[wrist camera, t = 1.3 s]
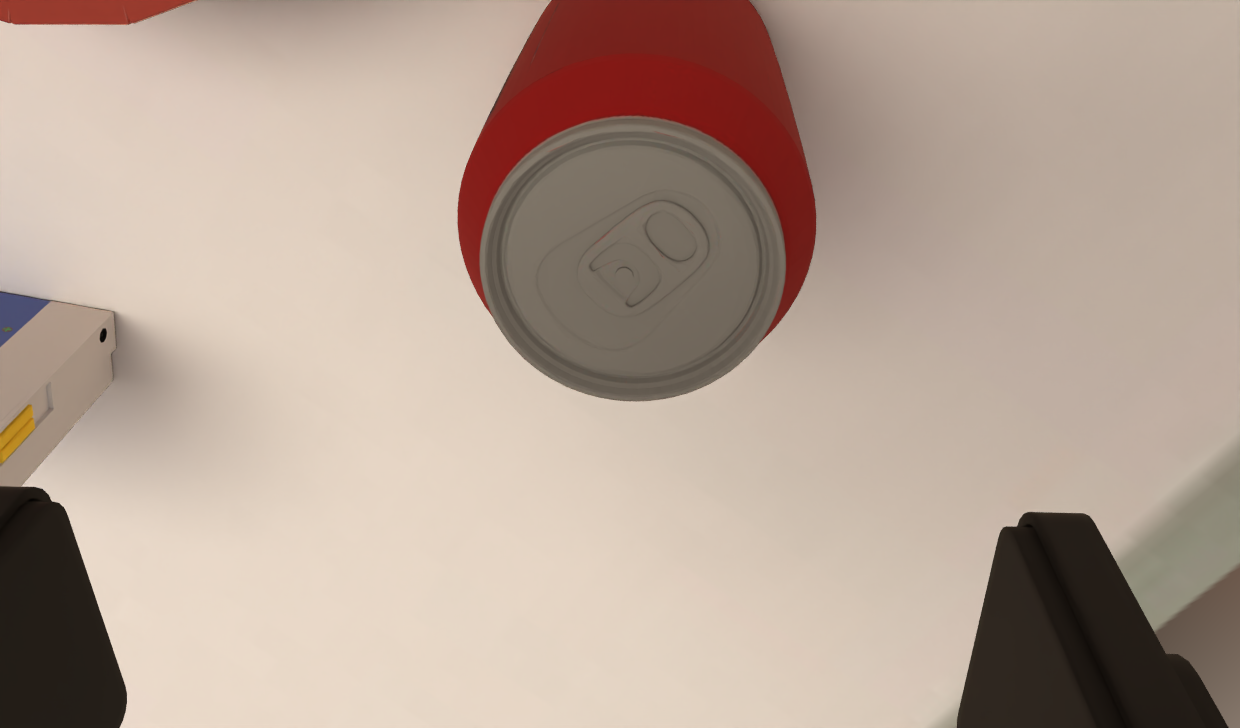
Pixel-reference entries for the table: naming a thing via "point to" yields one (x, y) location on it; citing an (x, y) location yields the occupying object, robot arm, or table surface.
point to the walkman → (47, 376)
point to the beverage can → (639, 196)
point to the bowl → (84, 11)
